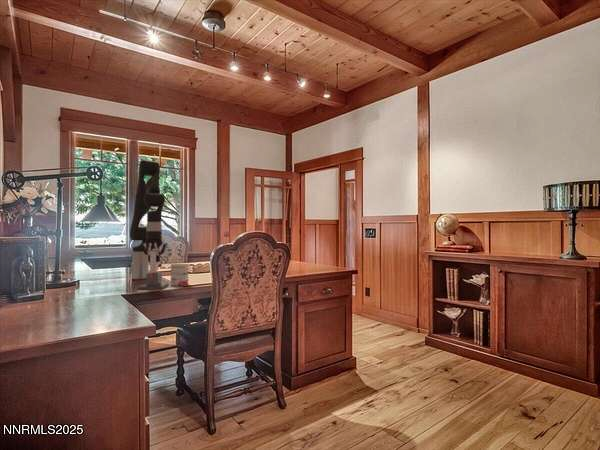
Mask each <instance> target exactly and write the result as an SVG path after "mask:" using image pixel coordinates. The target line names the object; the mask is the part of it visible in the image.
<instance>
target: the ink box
mask: <svg viewBox="0 0 600 450" xmlns="http://www.w3.org/2000/svg"><path fill="white" fill-rule="evenodd" d="M188 284H189V263H171V264H170V286H187V285H188Z"/></svg>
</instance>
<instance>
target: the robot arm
mask: <svg viewBox="0 0 600 450" xmlns="http://www.w3.org/2000/svg"><path fill="white" fill-rule="evenodd" d="M160 171H161V167H160V163H159V162H157V161H153V160H148V159H141V160H140V162H139V166H138V179H137V189H136V194H135V199H134V209H133V214H132V220H131V225H130V230H129V238H130V240H131V241H135V242H136V241H137V242H138V241H141V242H140V243H139V244H137V245H135V246H133V247H132V263H130V266H131V267H130V268H131V269H130V270H131V271H130V272H131V274H130V279H131V280H145V279H146V274H147V273H149V272H150V251H151V250H155V251H156V255H157V256H156V263H157V262H158V263H159V262H160V261H161V255H164V253H165V250H166V249H167V247H168V244H167V243H164V242H163V239H162V236H163V235H162V233H163V231H162V228H163V226H162V213H163V208H164V206H165V202H166V197H165V195H164V194H162V193H161V189H160V188H161V187H160V175H161V174H160V173H161V172H160ZM145 176H146V177H150V178H149V179H148V180H147V181H145ZM151 207H157V208H156V209H154V210H151ZM145 215H146V219H147V220H146V221H147V222H146V225H140V223H141V221H142V219H143V218H144V216H145ZM160 247H162V248H161V250H160Z"/></svg>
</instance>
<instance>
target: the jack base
mask: <svg viewBox="0 0 600 450" xmlns="http://www.w3.org/2000/svg"><path fill="white" fill-rule="evenodd" d="M168 287H169V282H162V271H158V273H150V271H148V273H147V274H146V281H145V283H143V284H141V285H139V286H138V287H137V289H138V291H145V290H147V291H148V290H163V289H165V288H168Z"/></svg>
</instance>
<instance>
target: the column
mask: <svg viewBox="0 0 600 450" xmlns="http://www.w3.org/2000/svg"><path fill="white" fill-rule="evenodd" d="M156 256H157V255H156V251H155V249H153V250H151V251H150V263H149V272H150V273H158V272H159V271H158V269H159V268H158V267H159V265H158V264H159V262H157V263H156Z"/></svg>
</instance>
